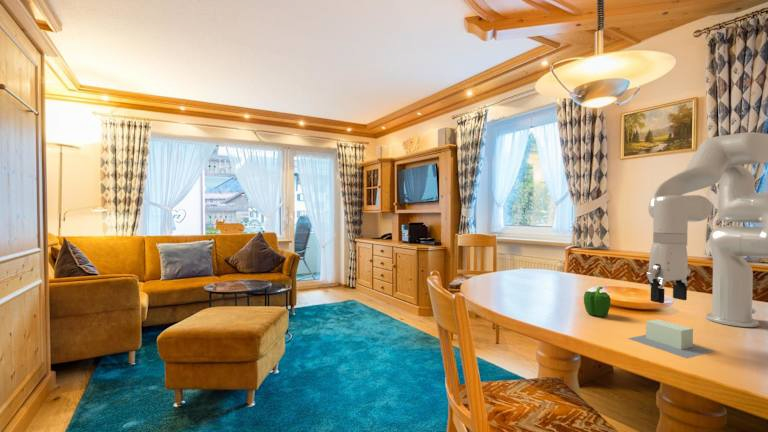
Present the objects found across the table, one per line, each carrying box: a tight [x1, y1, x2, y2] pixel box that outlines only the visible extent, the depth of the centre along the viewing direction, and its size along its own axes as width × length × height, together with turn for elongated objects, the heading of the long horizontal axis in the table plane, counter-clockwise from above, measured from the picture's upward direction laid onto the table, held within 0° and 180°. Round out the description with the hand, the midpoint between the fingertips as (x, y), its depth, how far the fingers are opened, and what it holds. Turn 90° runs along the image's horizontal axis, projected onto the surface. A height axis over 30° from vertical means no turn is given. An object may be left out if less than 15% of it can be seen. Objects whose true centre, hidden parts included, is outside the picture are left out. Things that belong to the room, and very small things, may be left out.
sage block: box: [645, 318, 694, 349], centre depth 101 cm, size 5×9×5 cm, turn 22°
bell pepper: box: [583, 285, 612, 318], centre depth 127 cm, size 8×8×10 cm
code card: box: [627, 334, 715, 359], centre depth 100 cm, size 12×15×1 cm
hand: (668, 300), depth 101 cm, fingers open, 9 cm apart
